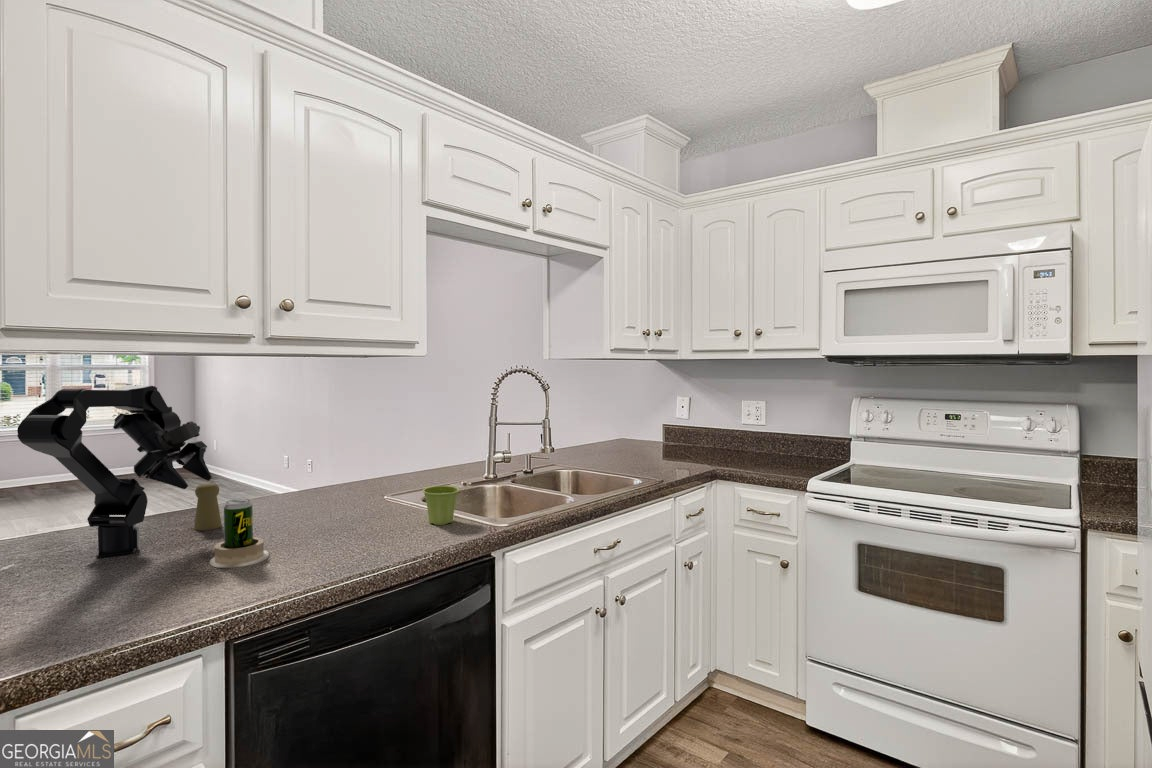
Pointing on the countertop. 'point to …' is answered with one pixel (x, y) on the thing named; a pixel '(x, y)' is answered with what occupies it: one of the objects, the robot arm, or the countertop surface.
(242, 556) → the can holder
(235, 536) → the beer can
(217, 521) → the cork
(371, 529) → the countertop surface
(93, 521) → the robot arm
